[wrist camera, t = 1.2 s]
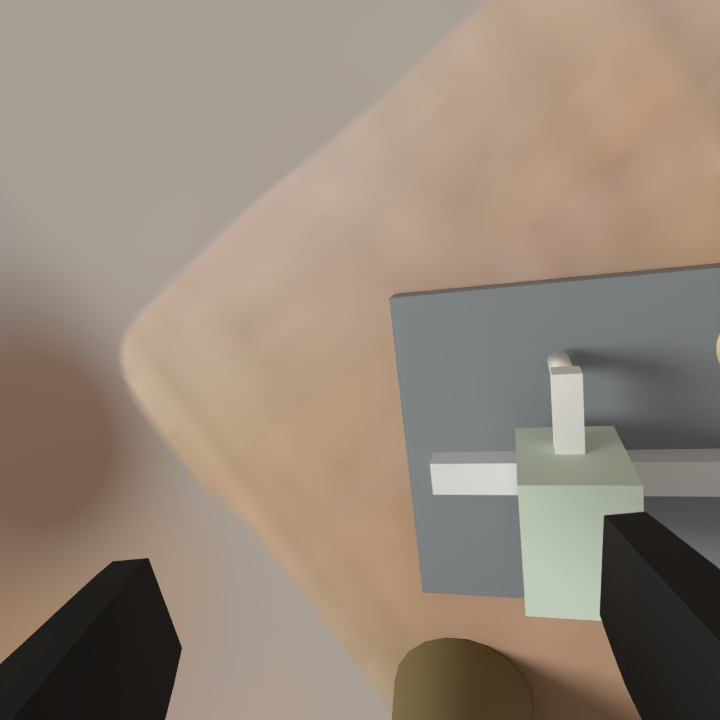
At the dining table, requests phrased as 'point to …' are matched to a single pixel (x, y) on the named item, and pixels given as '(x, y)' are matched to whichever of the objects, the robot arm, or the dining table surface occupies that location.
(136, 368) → the dining table surface
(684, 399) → the plate
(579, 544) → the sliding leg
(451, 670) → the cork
